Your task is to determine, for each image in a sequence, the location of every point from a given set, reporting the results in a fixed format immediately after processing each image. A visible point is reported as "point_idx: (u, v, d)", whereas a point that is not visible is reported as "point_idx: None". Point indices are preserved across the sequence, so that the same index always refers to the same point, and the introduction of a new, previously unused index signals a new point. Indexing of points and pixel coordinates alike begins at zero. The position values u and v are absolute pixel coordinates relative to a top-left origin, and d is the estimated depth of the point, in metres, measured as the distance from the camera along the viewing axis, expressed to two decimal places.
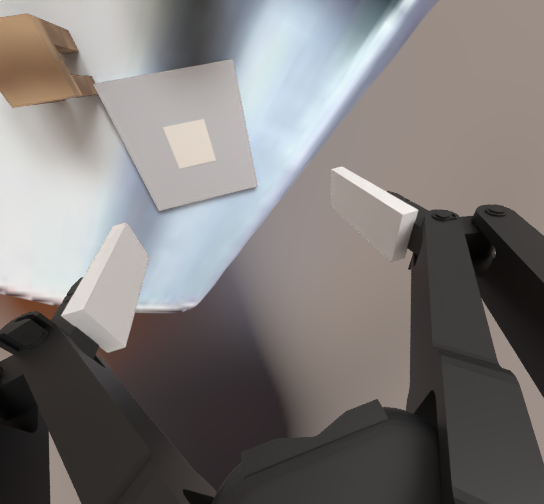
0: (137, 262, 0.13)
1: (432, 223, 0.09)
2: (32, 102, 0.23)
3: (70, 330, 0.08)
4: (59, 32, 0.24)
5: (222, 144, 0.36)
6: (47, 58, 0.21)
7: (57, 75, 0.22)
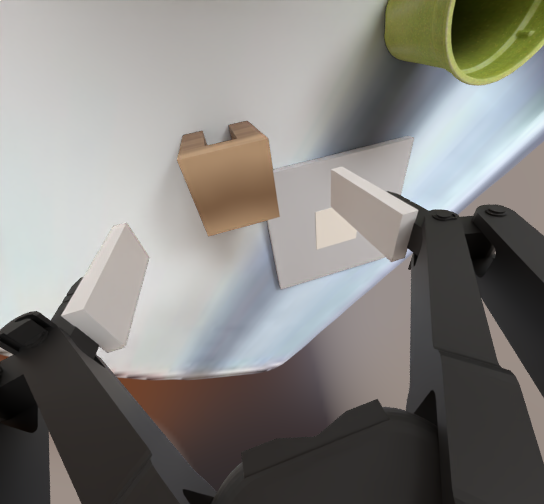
0: (137, 262, 0.13)
1: (432, 223, 0.09)
2: (232, 228, 0.18)
3: (70, 330, 0.08)
4: None
5: None
6: (268, 183, 0.17)
7: (270, 198, 0.17)
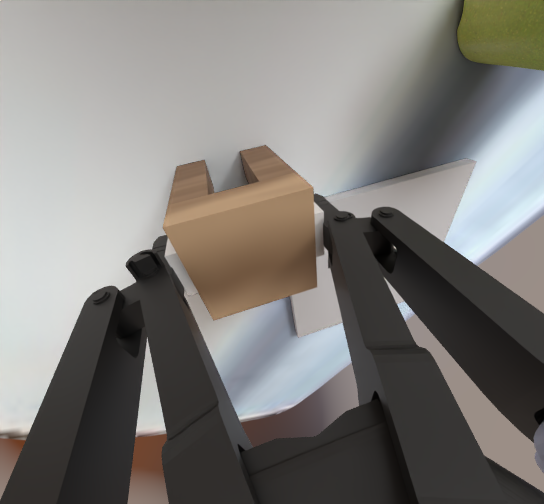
0: None
1: (335, 225, 0.10)
2: (248, 307, 0.12)
3: (169, 270, 0.10)
4: None
5: None
6: (306, 247, 0.11)
7: (307, 267, 0.12)
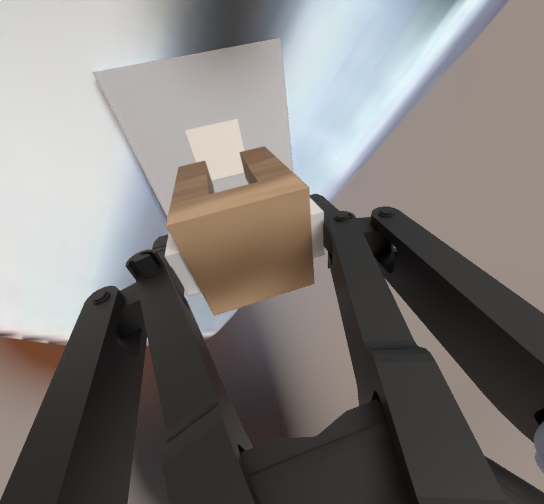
0: None
1: (335, 225, 0.10)
2: (247, 303, 0.13)
3: (169, 270, 0.10)
4: None
5: None
6: (302, 245, 0.11)
7: (304, 264, 0.12)
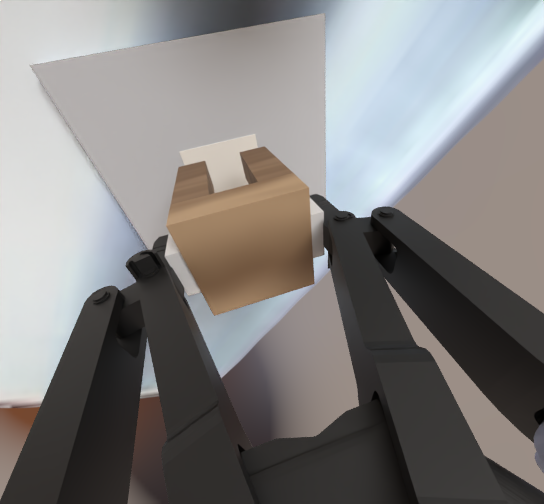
0: None
1: (335, 225, 0.10)
2: (247, 303, 0.13)
3: (169, 270, 0.10)
4: None
5: None
6: (302, 245, 0.11)
7: (304, 264, 0.12)
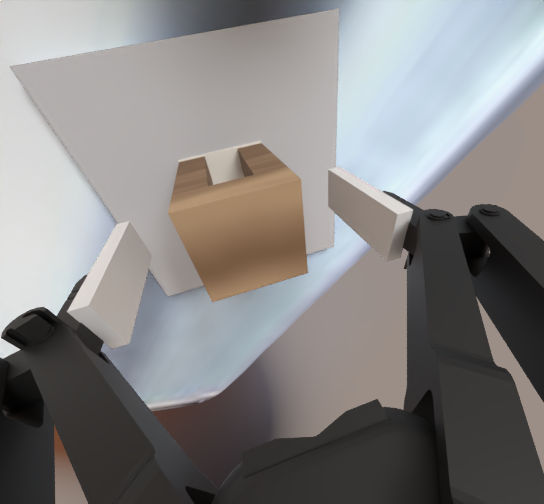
0: (140, 260, 0.13)
1: (427, 223, 0.09)
2: (244, 290, 0.13)
3: (75, 326, 0.08)
4: None
5: None
6: (296, 234, 0.12)
7: (298, 253, 0.13)
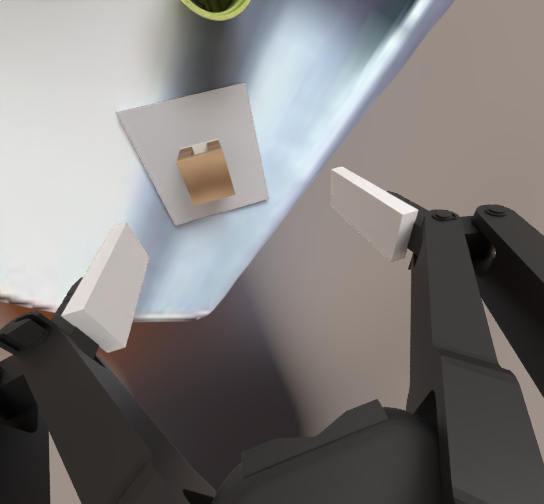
0: (137, 262, 0.13)
1: (432, 223, 0.09)
2: (207, 201, 0.32)
3: (70, 330, 0.08)
4: None
5: (235, 161, 0.38)
6: (226, 174, 0.30)
7: (228, 183, 0.31)
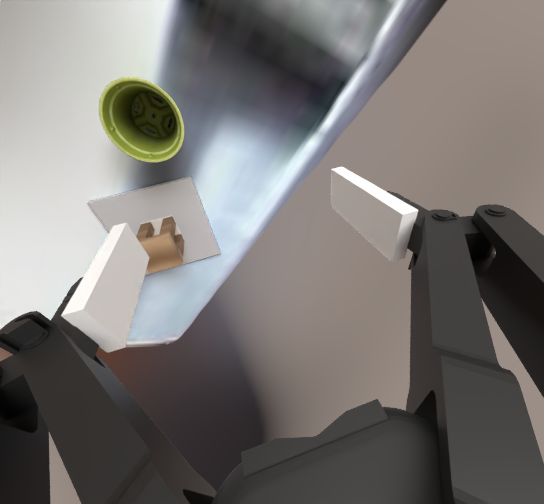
0: (137, 262, 0.13)
1: (432, 223, 0.09)
2: (160, 270, 0.41)
3: (70, 330, 0.08)
4: (172, 225, 0.42)
5: (188, 229, 0.46)
6: (172, 252, 0.39)
7: (175, 257, 0.40)
